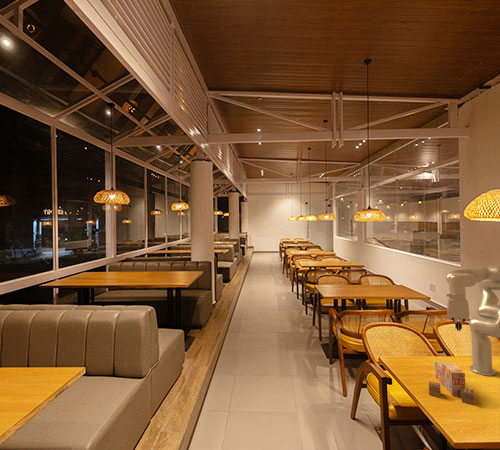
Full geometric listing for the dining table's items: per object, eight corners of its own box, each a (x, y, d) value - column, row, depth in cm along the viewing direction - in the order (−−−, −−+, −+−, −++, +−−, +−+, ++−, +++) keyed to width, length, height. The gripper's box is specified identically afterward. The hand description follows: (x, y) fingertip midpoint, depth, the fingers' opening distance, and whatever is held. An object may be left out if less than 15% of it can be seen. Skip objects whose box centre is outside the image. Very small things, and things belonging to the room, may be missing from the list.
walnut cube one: (429, 390, 167) (429, 380, 167) (440, 393, 165) (440, 383, 165) (429, 395, 163) (428, 384, 163) (440, 397, 160) (440, 387, 161)
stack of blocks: (435, 377, 183) (434, 355, 183) (447, 378, 182) (446, 356, 182) (452, 396, 162) (451, 371, 162) (466, 397, 160) (465, 372, 161)
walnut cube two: (461, 397, 160) (460, 387, 160) (473, 400, 157) (473, 389, 158) (461, 402, 156) (461, 391, 156) (474, 404, 153) (473, 394, 153)
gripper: (441, 296, 177) (443, 330, 176) (474, 299, 169) (475, 334, 169) (441, 294, 183) (442, 326, 183) (473, 296, 175) (474, 330, 175)
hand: (458, 330), depth 176 cm, fingers closed
